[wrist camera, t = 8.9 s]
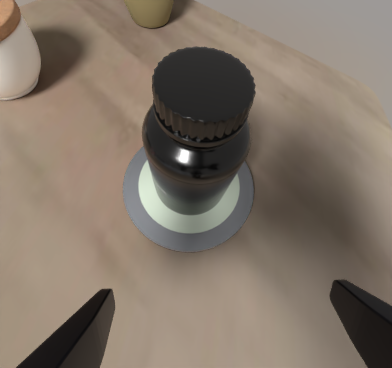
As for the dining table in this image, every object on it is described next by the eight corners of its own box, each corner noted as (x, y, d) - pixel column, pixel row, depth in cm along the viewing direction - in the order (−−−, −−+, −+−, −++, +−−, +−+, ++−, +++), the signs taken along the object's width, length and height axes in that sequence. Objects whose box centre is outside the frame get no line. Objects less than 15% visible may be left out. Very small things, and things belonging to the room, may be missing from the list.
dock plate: (141, 272, 18) (138, 272, 17) (115, 151, 23) (112, 143, 21) (270, 228, 20) (276, 225, 19) (223, 127, 25) (226, 119, 24)
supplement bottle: (141, 197, 19) (91, 97, 8) (176, 144, 22) (173, 15, 11) (207, 231, 18) (247, 168, 7) (235, 171, 21) (295, 61, 10)
